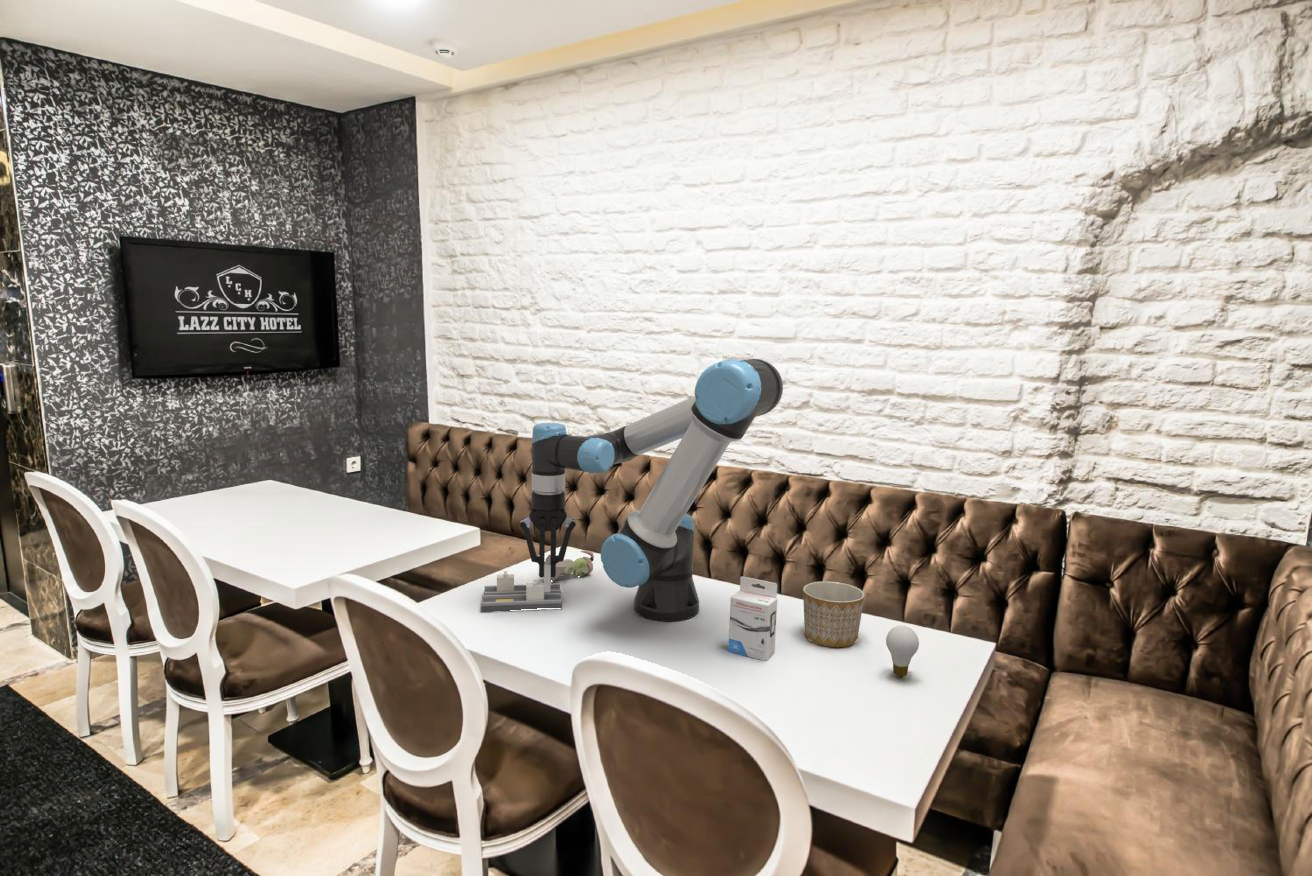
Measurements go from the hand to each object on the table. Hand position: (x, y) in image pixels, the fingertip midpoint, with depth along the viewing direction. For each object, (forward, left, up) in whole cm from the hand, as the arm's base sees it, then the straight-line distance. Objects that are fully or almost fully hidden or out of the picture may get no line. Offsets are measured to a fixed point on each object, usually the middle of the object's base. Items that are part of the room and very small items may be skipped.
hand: (547, 590), depth 175 cm
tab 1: (+10, -7, -2) cm, 12 cm away
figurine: (-6, -19, -4) cm, 20 cm away
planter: (-59, +25, -4) cm, 65 cm away
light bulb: (-65, +44, -4) cm, 79 cm away
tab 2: (+3, 0, -2) cm, 3 cm away
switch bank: (+6, -3, -4) cm, 7 cm away
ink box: (-40, +30, -4) cm, 51 cm away
